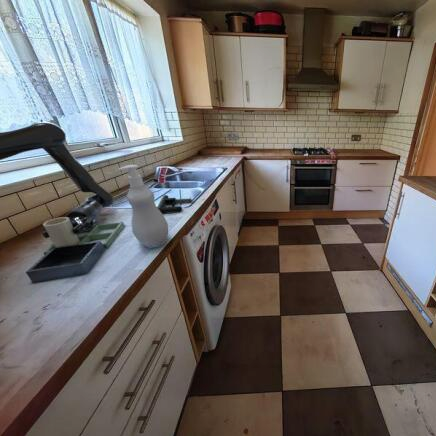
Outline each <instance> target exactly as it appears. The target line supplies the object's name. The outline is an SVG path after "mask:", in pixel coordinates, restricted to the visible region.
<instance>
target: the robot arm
mask: <svg viewBox="0 0 436 436" xmlns="http://www.w3.org/2000/svg"><path fill="white" fill-rule="evenodd" d="M66 139H67V135H66V132H65V130H64V129H63V128H61V127H60V126H59V125H57V124H56V123H53V122H48V121H39V122H33V123H32V124H30V125H29V126H26V127H22V128H21V127H20V128H18V129H14V130H8V131H2V132H0V161H3V160H5V159H9V158H11V157H14V156H17V155H19V154H22V153H27V152H31V151H37V150H41V149H42V150H44V152H46V153H47V154H48V155H49V156H50V157H51V158H52V159H53V160H54V161H55V162H56V164H58V166H59V167H60V168H61V169H62V170H63V172H64V173H65V174H66V176H67V177H68V178H69V179H70V181H71V182H72V183H73V184H74V186H76V188H77V189H78V190H79V191H80V192H81V193H92V195H88V196H87V197H85V198H84V200H83V202H82V203H81V204H79V205H77V206H76V207H74V208H73V209H71V210H70V211H68V212H67V213H66V214H65V217H68V218H69V219H70V221H71V223H72V225H73V232H74V234H77V235H78V234H79V233H82V232H81V231H82V230H85V229H86V228H92V227H93V226H94V225H96V224H97V219H96V217H97V216H98V215H99V214H100V213H101V212H102V211H103V209H104V208H108V207H110V206H113V205H114V203H115V198H114V196H113V195H112V194H111V193H110V192H109V191H108V190H106V189H105V188H104V187H102V185H100V184H99V183H98V182H97V181H96V180H95V178H94V177H93V176H92V175H91V173H90V172H89V171H88V170H87V168H86V167H84V166H83V164H82V163H80V162H79V161H78V159H76V158H75V156H73V155H72V153H71V152H70V151H69V149H68V148H67V146H66V145H65V141H66ZM42 230H43V232H42V233H41V234H42V236H43V237H44V238H45V239H48V238H49V239H50V237H49V235H48V233H47V231H46V230H45V228H44V226H42Z"/></svg>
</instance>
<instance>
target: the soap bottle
mask: <svg viewBox="0 0 436 436" xmlns="http://www.w3.org/2000/svg"><path fill="white" fill-rule="evenodd" d="M137 168H139V165H138V164H127V165H125V166H121V167H119V168H118V169H117V170H118V171H122V170H127V171H128V175H129V176H127V180H128V183H129V190H128V192H127V193H126V200H127V202H128V204H129V205H130V207H131V208H132V213H131V230H132V234H133V236H134V237H135V239H136V240H137V242H139V243H140V244H141V245H143V246H144V247H145V248H147V249H148V248H149V249H153V248H157V247H161V246H162V245H164V244H165V243H166V241H167V238H168V236H169V224H168V223H169V222H168V221H167V219H166V218H165V215H164V214H163V213H161V212H160V210H159V209H158V208H157V205H156V202H155V193H154V192H153V190H152V189H150V188H149V187H147V186H146V185H145V183H144V180H143V177H142V175H141V174H139V173H138V170H137Z"/></svg>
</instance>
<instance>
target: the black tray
mask: <svg viewBox="0 0 436 436" xmlns="http://www.w3.org/2000/svg"><path fill="white" fill-rule="evenodd" d="M102 243H103V242H102V241H101V240H98V241H89V242H88V243H82V244H74V245H67V246H59V247H54V248H53V249H51V250H50V251H49V252H48V253H47V254H46V255H43V256H42V257H40V259H39V260H37V262H35V263H34V264H33V265H32V266H31V267H30V268H28V269H27V270H26V271H25V274H26V276H27V277H28V278H29V280H30V281H31V283H38V282H45V281H51V280H58V279H63V278H69V277H77V276H82V275H87V274H88V273H89V272H90V270H91V269H92V268H93V266H94V265H95V264H96V263H97V261H98V260H99V258H100V257H101V256H102V255H103V253H104V252H105V251H106V249H104V247H103V245H102Z"/></svg>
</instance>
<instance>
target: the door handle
mask: <svg viewBox="0 0 436 436" xmlns="http://www.w3.org/2000/svg"><path fill="white" fill-rule="evenodd" d="M192 202H193V199H192V197H190V198H176V197H169V195H167V194H164V195H163V196H162V197H161V198H160V201H159V203H158V205H156V207H157V208H158V209H159V210H160V212H161V213H162V214H163V213H177V212H182V210H183V208H182V206H181V205H177V204H186V203H187V204H188V203H192ZM176 205H177V206H176Z"/></svg>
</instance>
